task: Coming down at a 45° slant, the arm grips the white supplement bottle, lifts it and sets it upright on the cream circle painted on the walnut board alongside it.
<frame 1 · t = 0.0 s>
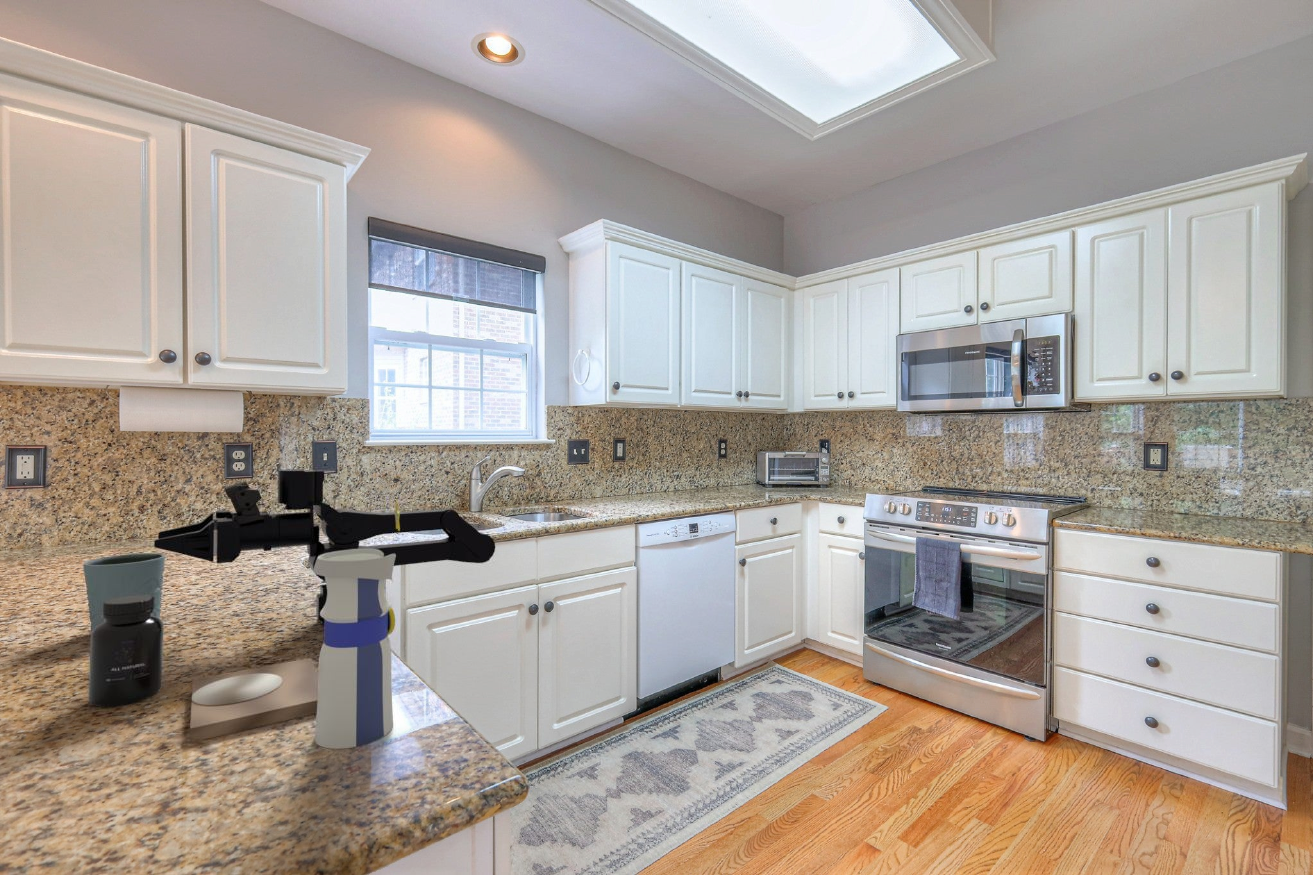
hand: (156, 539, 91), 17 cm above the countertop, tool horizontal, fingers open, 9 cm apart
walnut board: (258, 700, 73), on the countertop
water bottle: (355, 731, 66), on the countertop
drinking glass: (124, 631, 99), on the countertop
supplement bottle: (126, 698, 74), on the countertop
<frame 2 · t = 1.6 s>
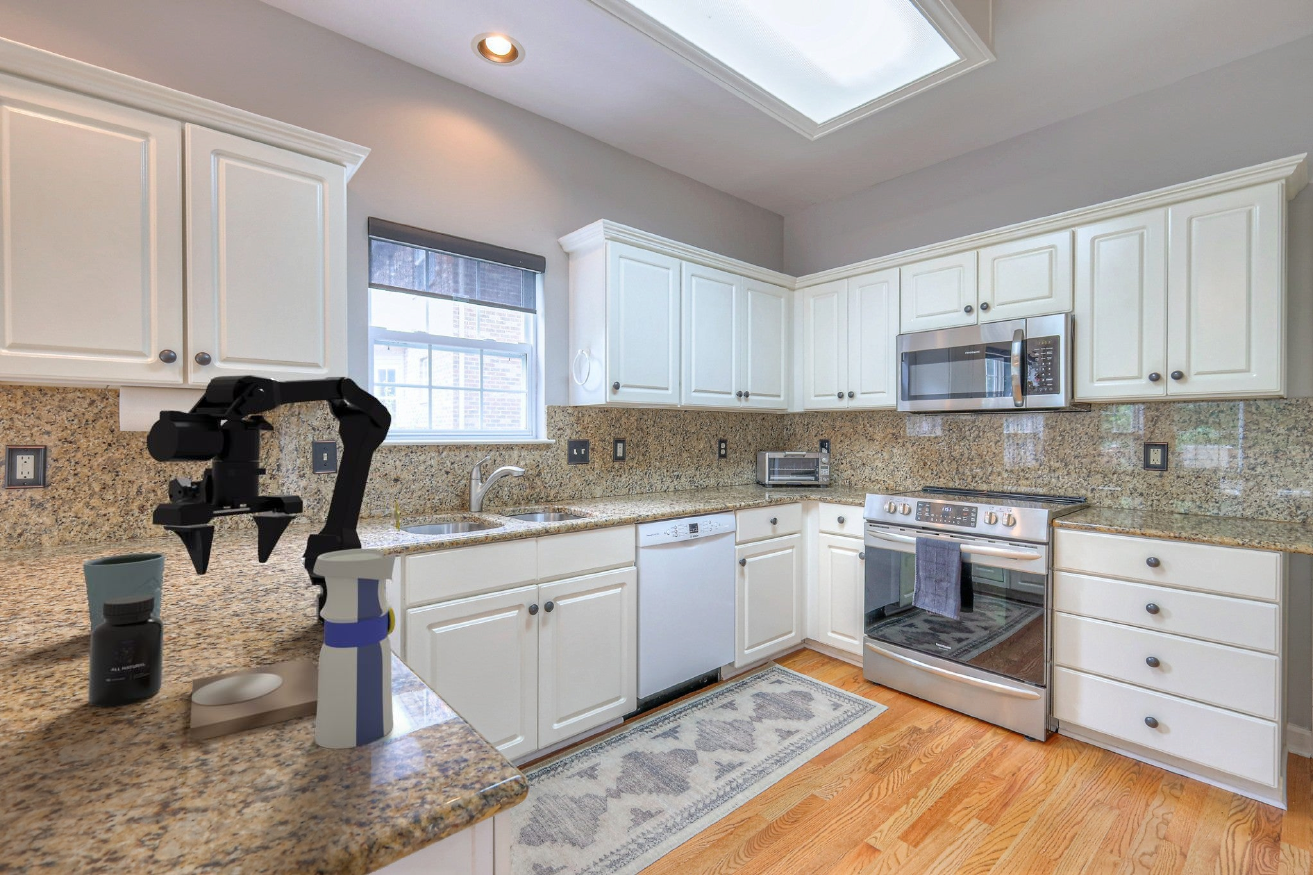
hand: (233, 568, 87), 13 cm above the countertop, tool pointing down, fingers open, 9 cm apart
nothing on the countertop moved.
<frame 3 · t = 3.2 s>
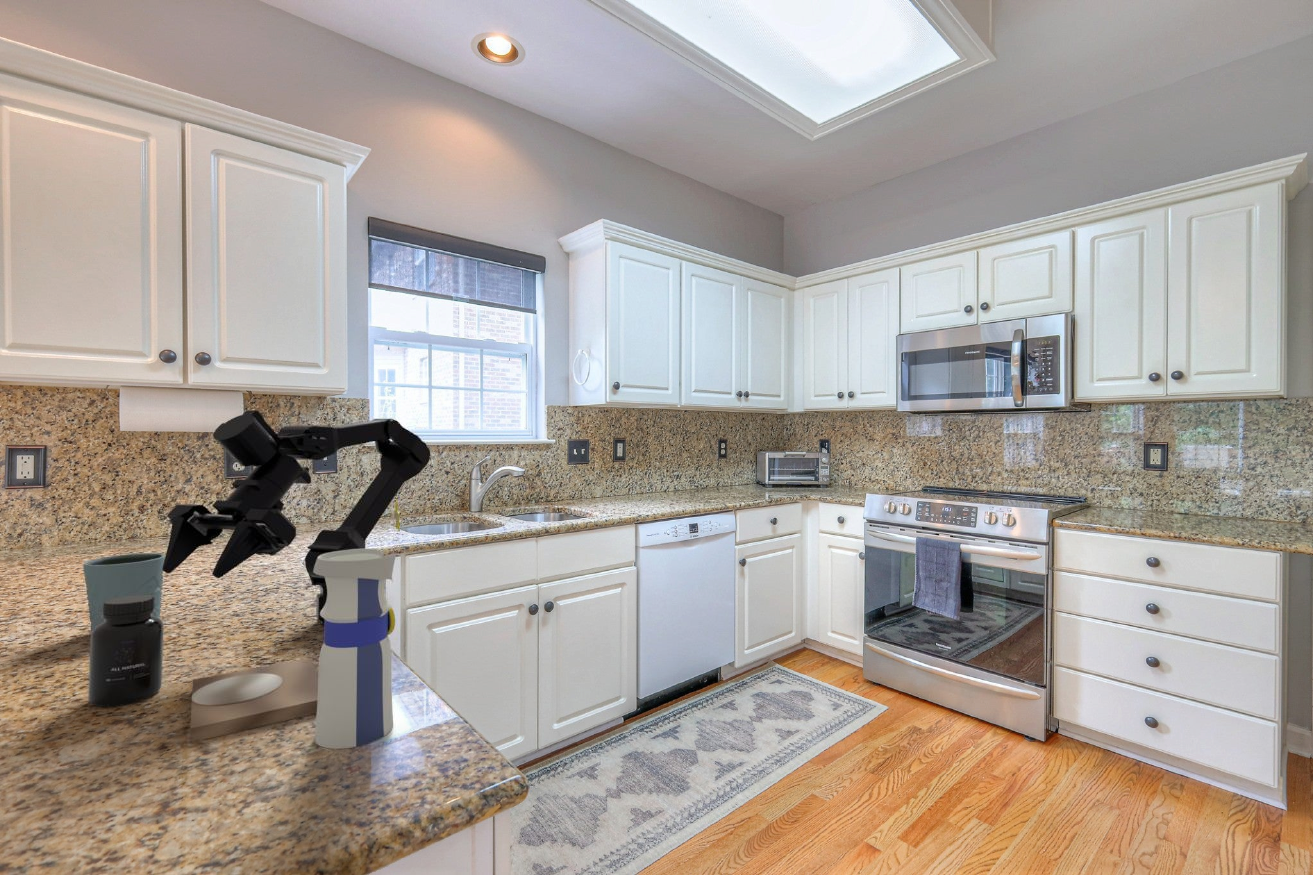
hand: (189, 574, 81), 14 cm above the countertop, tool tilted 45°, fingers open, 9 cm apart
nothing on the countertop moved.
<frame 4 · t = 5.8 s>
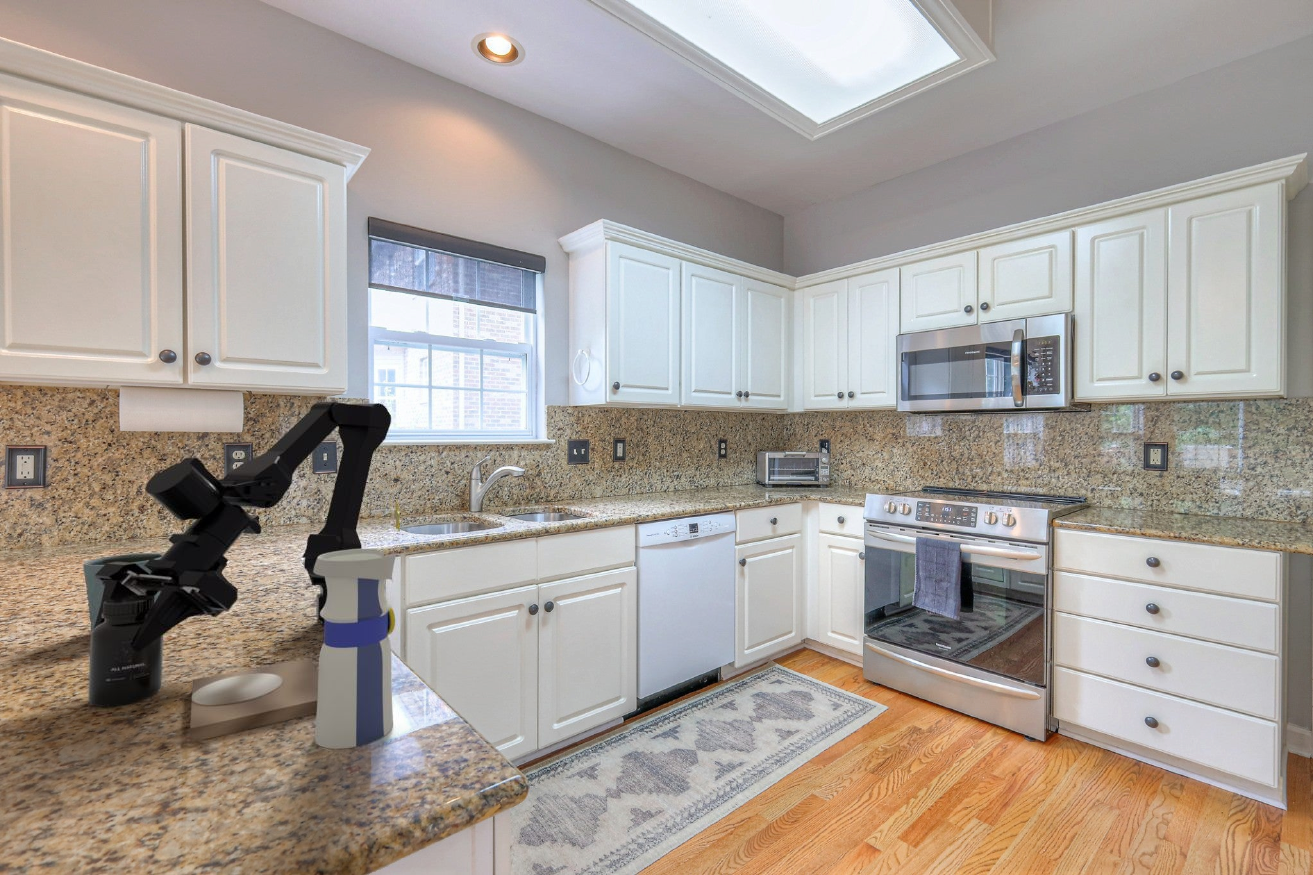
hand: (114, 646, 73), 7 cm above the countertop, tool tilted 45°, fingers closed on supplement bottle, 7 cm apart
supplement bottle: (126, 697, 74), on the countertop, touching gripper
everything else where it was.
when the fingers open (9 cm above the countertop, at t = 9.3 s): supplement bottle stays where it is, resting on walnut board.
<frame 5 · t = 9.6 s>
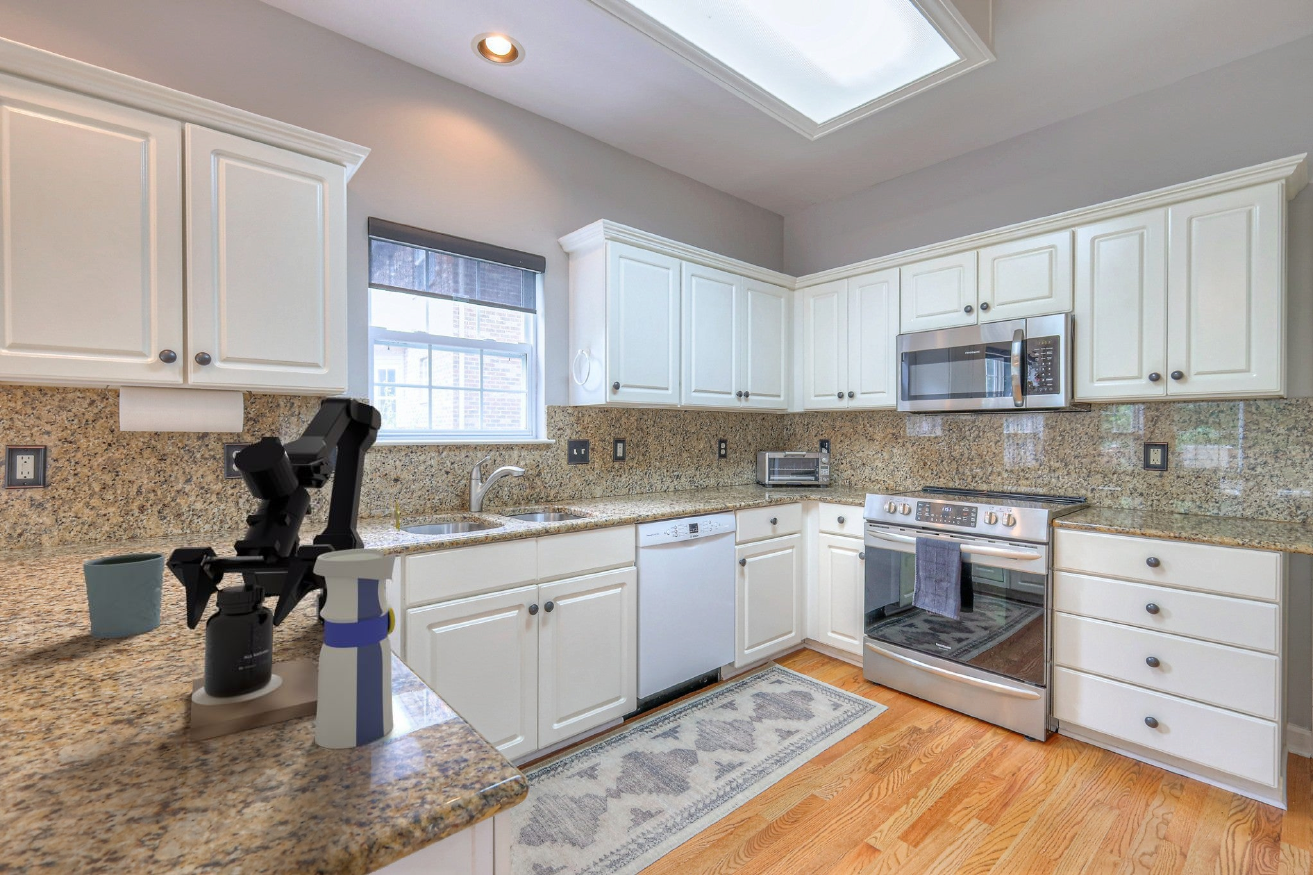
hand: (233, 626, 71), 10 cm above the countertop, tool tilted 45°, fingers open, 9 cm apart
supplement bottle: (239, 688, 73), point 1 cm above the countertop, touching walnut board
everything else where it was.
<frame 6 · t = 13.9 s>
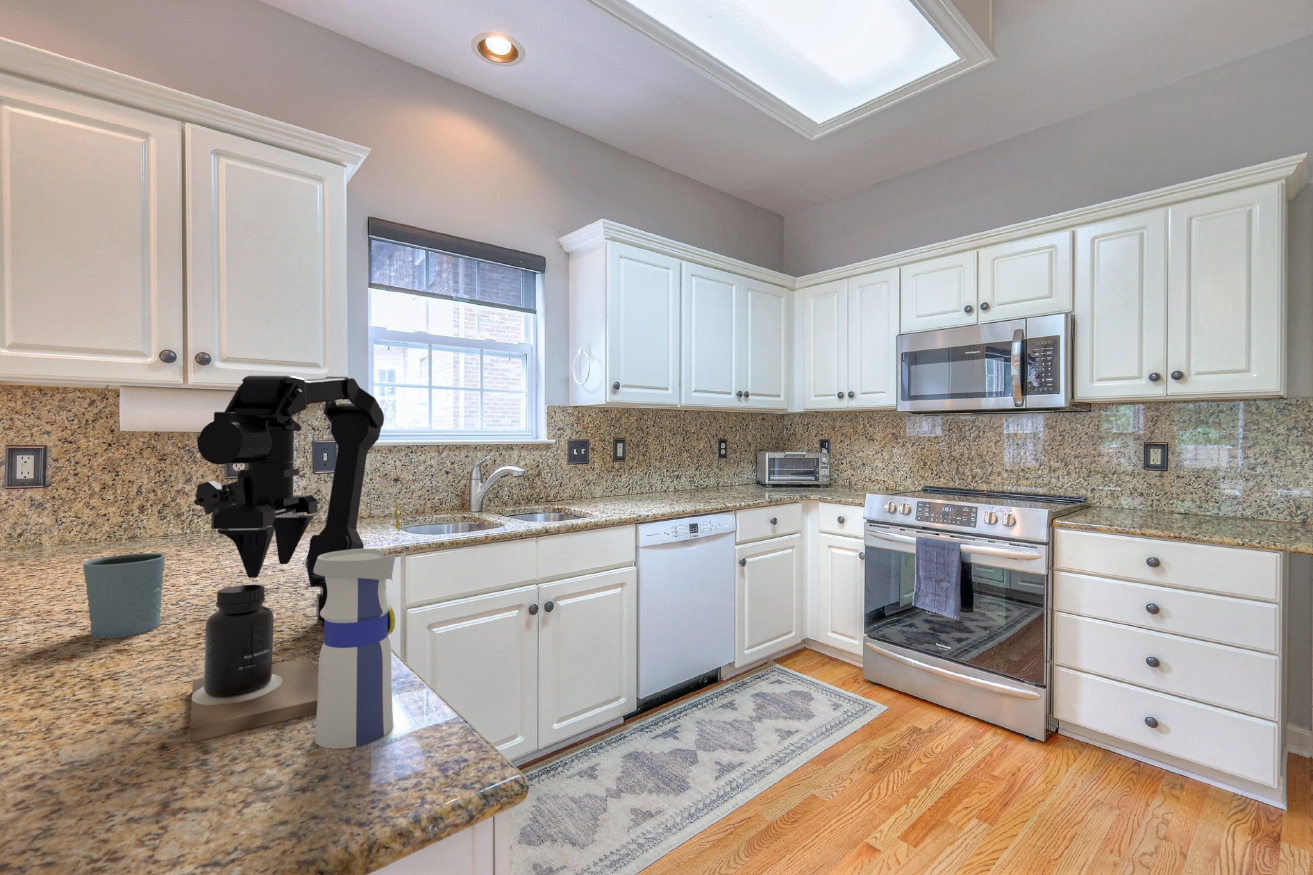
hand: (269, 570, 86), 13 cm above the countertop, tool pointing down, fingers open, 9 cm apart
nothing on the countertop moved.
at the end: supplement bottle inside the target area (0.1 cm from its centre), point 1.5 cm above the countertop; supplement bottle tilted 0°; the gripper is holding nothing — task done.
